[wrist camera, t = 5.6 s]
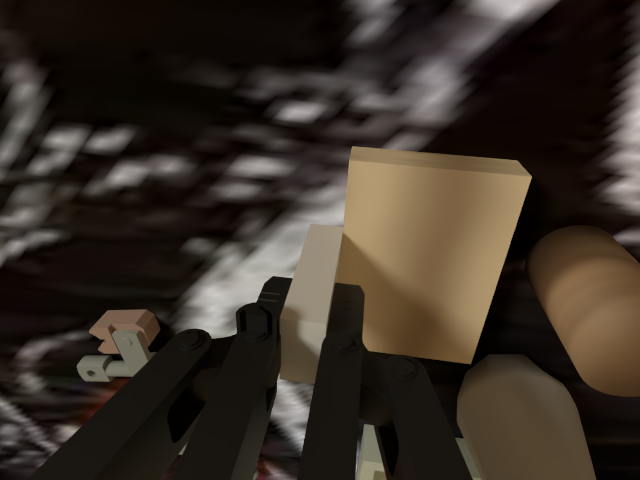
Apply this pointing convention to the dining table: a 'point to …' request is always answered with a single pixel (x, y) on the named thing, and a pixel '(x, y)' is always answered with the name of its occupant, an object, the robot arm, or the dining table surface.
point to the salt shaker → (521, 422)
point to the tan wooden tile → (428, 246)
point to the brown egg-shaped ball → (591, 304)
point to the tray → (370, 461)
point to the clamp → (122, 346)
